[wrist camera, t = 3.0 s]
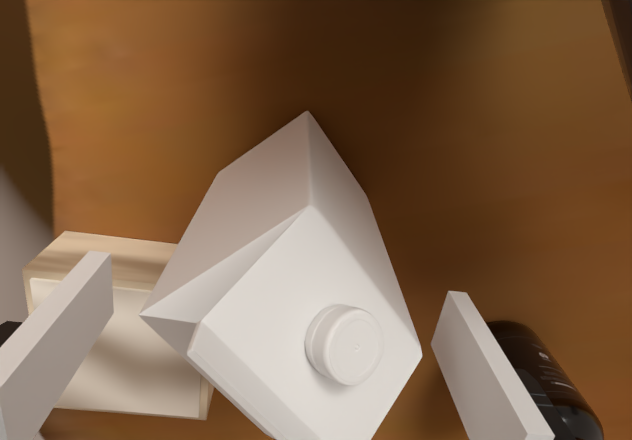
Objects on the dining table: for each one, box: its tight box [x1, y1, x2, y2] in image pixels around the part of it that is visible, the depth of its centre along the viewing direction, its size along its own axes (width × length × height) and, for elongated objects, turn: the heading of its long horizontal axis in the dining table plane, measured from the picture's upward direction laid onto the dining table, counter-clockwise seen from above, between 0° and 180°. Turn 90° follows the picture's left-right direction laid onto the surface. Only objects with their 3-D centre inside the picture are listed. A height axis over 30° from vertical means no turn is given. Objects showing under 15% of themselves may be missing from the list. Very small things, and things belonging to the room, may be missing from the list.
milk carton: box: [138, 111, 422, 440], centre depth 20 cm, size 7×7×19 cm
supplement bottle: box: [486, 321, 604, 440], centre depth 30 cm, size 7×7×12 cm
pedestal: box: [22, 231, 214, 420], centre depth 30 cm, size 11×11×5 cm
